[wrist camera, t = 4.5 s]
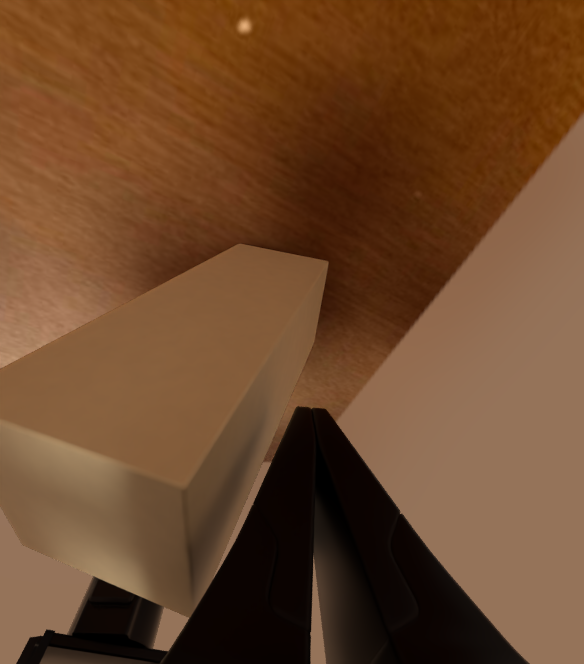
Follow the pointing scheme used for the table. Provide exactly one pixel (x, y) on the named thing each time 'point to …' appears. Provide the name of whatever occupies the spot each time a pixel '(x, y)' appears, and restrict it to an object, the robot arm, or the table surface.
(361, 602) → the robot arm
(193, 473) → the cream block
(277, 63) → the table surface
